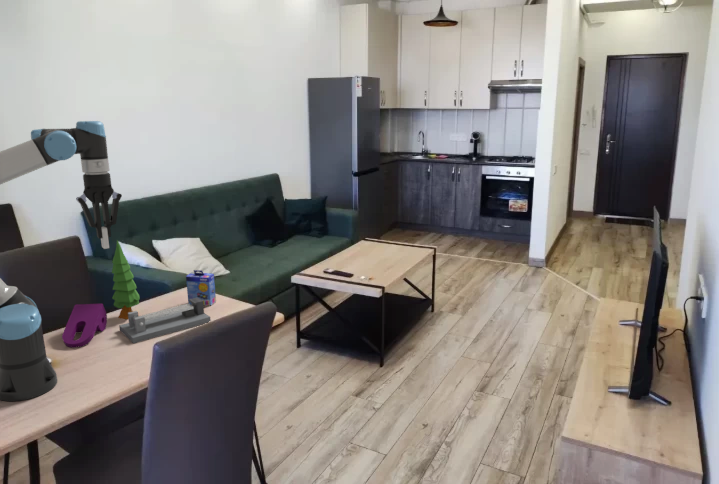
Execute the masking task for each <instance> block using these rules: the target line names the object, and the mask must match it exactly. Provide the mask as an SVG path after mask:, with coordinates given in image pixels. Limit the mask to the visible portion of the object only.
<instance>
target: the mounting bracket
mask: <svg viewBox="0 0 719 484" xmlns="http://www.w3.org/2000/svg"><path fill="white" fill-rule="evenodd" d="M107 324H108V314H107V311H106V309H105V307H104V304H103V303H83V304H82V303H81V304H80V303H79V304H74V305H73V307H72V311H71V313H70V315H69V318H68V321H67V322H66V325H65V328H64V329H63V332H62V334H61V337H62V338H61V339H62V341H63V343H64V345H65V346H66V347H68V348H82V347H84V346H86V345H88V344H89V343H90V342H91V341H93V339H94V337H95V334H96V333H97V332H99V333H100V332H101V333H102V332H104V331H105V330H106V329H107ZM76 333H81V336H80V337H79V338H78V339H76V340H75V336H76Z"/></svg>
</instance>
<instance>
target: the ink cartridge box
mask: <svg viewBox="0 0 719 484" xmlns="http://www.w3.org/2000/svg"><path fill="white" fill-rule="evenodd" d="M185 281H186V291H187V302H188V303H189V304H191V305H192V303H191V302H189V299H193V298H199V299H201V300H202V301H203V305H211V306H212V304H213V303H214V304H215V303H216V302H217V297H216V285H215V274H214V273H208V272H204V271H203V270H198V269H197V270H196V269H194V270H193V272H190V273H188V274H187V275H186V276H185ZM188 303H187V304H188ZM214 304H213V305H214Z"/></svg>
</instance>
